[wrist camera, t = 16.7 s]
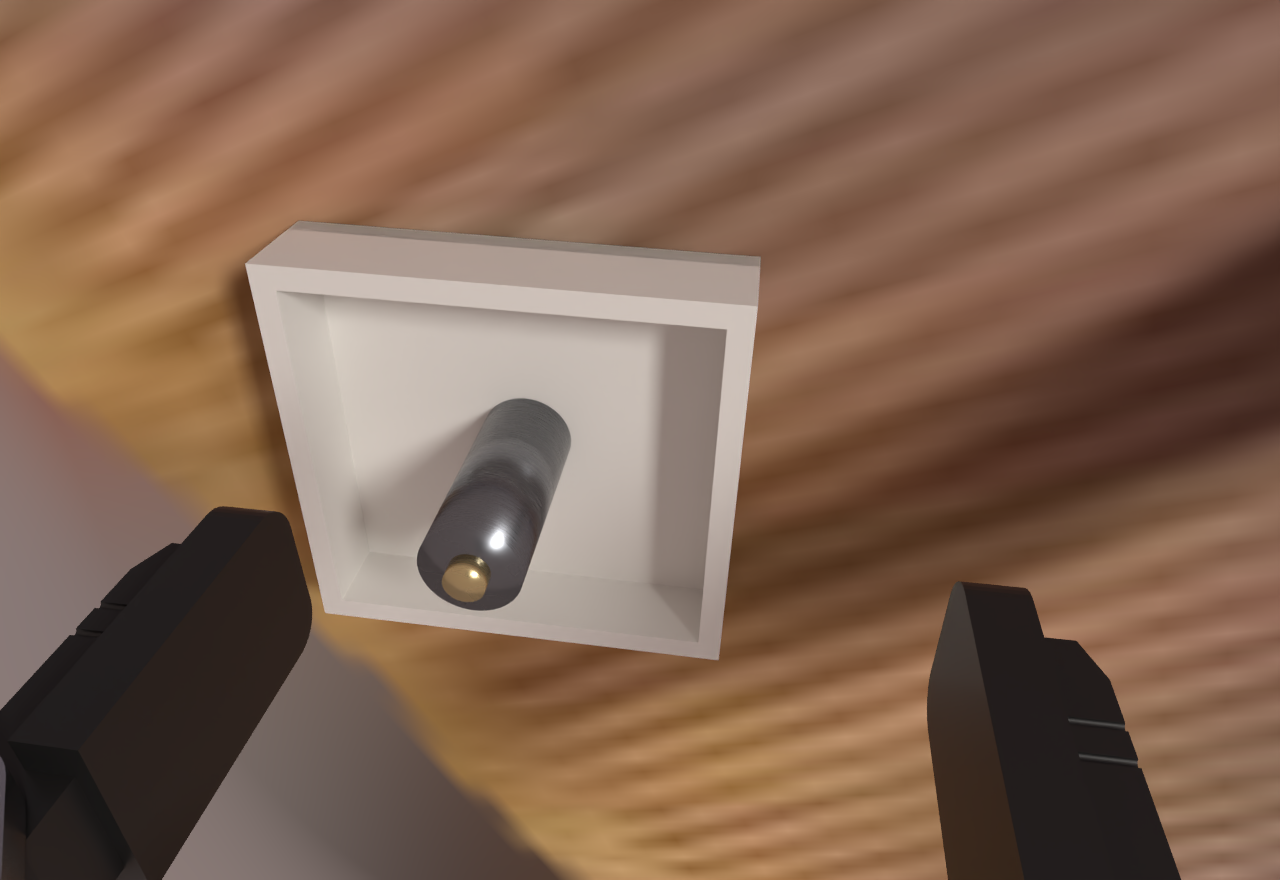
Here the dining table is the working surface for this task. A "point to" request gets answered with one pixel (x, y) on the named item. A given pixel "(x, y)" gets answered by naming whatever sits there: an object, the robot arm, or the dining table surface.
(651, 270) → the white square tray
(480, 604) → the cell
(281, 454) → the dining table surface
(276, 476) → the dining table surface
